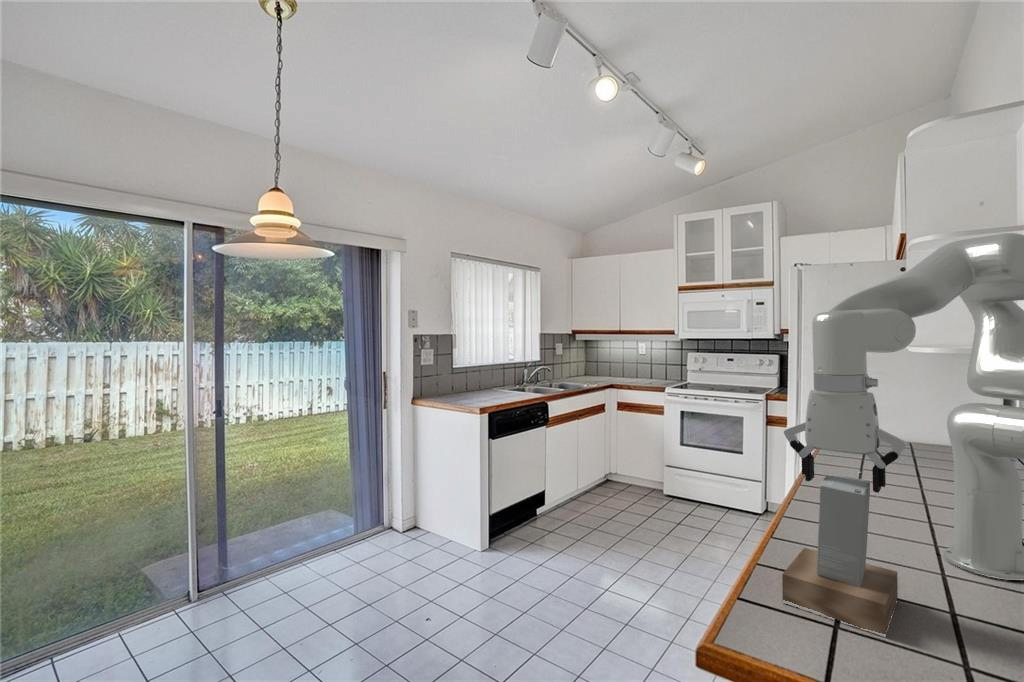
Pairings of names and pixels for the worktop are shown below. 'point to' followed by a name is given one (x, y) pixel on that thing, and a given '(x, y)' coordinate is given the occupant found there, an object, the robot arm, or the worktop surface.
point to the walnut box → (842, 593)
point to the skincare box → (843, 528)
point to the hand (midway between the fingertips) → (842, 484)
